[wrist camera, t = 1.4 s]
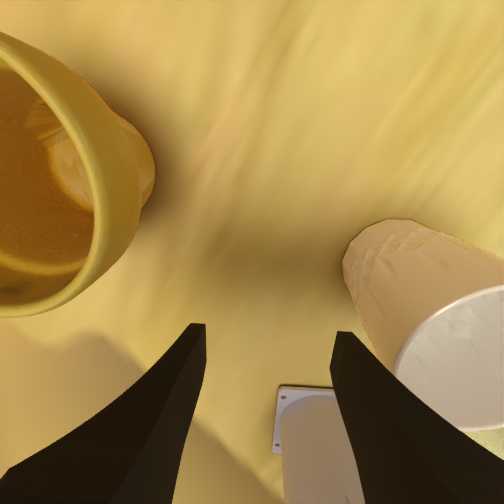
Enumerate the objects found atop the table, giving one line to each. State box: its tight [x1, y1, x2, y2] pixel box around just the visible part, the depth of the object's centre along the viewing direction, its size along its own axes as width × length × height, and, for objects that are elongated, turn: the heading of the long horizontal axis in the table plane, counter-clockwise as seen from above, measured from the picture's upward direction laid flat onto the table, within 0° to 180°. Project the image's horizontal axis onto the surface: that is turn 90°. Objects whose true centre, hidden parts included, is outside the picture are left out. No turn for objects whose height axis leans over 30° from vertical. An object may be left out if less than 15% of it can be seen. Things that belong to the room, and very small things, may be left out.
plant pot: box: [0, 32, 155, 318], centre depth 13 cm, size 10×10×10 cm
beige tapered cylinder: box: [342, 219, 504, 432], centre depth 16 cm, size 8×8×10 cm
